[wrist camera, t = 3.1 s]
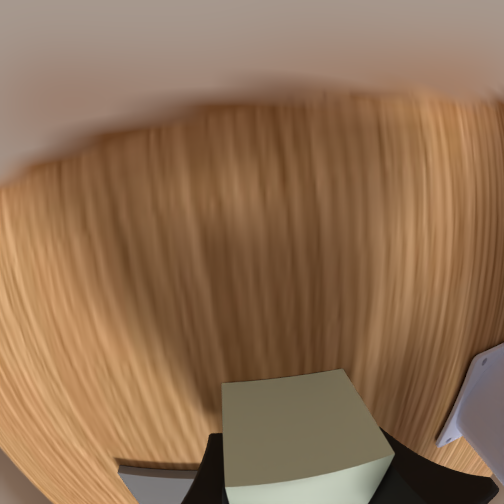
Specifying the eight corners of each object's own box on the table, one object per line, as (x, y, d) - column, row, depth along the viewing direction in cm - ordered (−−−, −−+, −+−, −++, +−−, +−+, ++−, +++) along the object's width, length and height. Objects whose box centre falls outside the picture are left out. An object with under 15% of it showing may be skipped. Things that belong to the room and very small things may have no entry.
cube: (342, 368, 11) (395, 453, 6) (329, 441, 12) (360, 515, 8) (221, 383, 11) (225, 487, 6) (231, 454, 12) (238, 537, 7)
